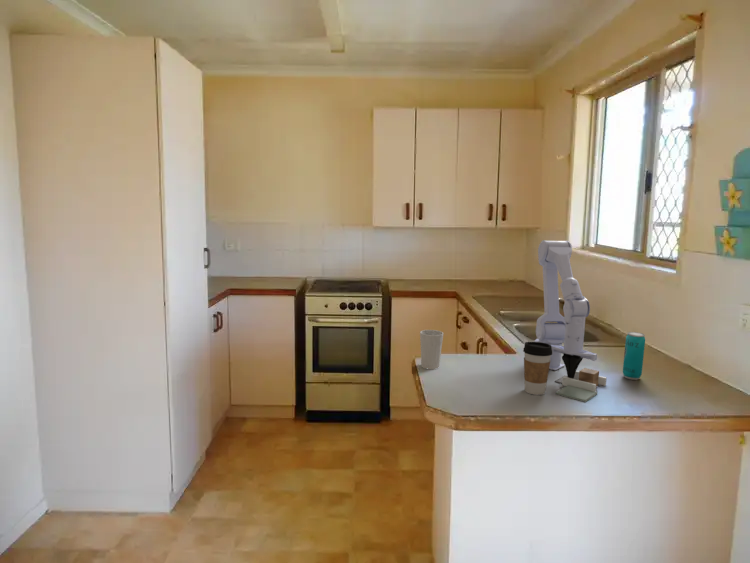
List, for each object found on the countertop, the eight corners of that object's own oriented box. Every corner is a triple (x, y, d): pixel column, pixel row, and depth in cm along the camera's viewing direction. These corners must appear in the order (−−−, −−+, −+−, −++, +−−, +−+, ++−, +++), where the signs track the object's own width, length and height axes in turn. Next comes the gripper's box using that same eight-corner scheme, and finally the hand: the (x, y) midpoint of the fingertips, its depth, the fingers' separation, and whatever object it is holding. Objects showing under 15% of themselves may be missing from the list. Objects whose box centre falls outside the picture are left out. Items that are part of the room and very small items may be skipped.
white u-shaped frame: (553, 382, 173) (553, 375, 172) (566, 375, 180) (566, 368, 180) (594, 392, 164) (595, 385, 164) (605, 385, 171) (606, 377, 171)
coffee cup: (514, 388, 166) (518, 341, 164) (537, 385, 169) (540, 339, 167) (531, 397, 159) (535, 348, 156) (555, 394, 162) (559, 346, 159)
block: (578, 386, 170) (579, 370, 169) (583, 382, 173) (584, 367, 173) (592, 389, 167) (593, 374, 166) (597, 386, 170) (599, 371, 170)
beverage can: (624, 373, 183) (629, 330, 181) (643, 377, 180) (647, 333, 177) (620, 377, 179) (624, 333, 177) (638, 381, 175) (643, 336, 173)
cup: (446, 368, 184) (447, 334, 182) (425, 371, 181) (426, 336, 179) (435, 362, 191) (436, 329, 190) (414, 364, 188) (416, 330, 187)
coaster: (555, 394, 162) (555, 392, 162) (567, 386, 169) (568, 385, 169) (585, 402, 156) (585, 400, 156) (597, 394, 163) (597, 392, 163)
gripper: (547, 334, 173) (544, 374, 175) (592, 343, 164) (588, 385, 166) (556, 330, 179) (553, 370, 181) (600, 338, 169) (597, 380, 171)
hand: (570, 377), depth 174 cm, fingers closed
